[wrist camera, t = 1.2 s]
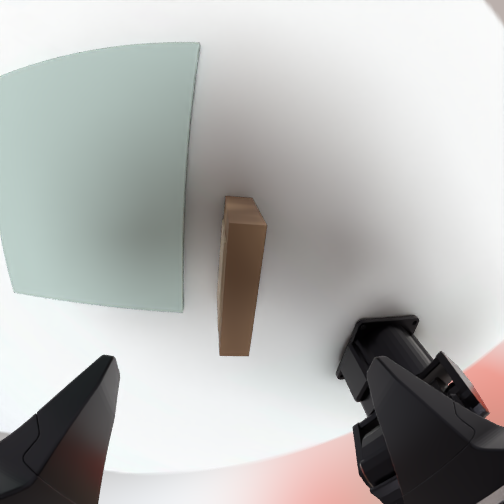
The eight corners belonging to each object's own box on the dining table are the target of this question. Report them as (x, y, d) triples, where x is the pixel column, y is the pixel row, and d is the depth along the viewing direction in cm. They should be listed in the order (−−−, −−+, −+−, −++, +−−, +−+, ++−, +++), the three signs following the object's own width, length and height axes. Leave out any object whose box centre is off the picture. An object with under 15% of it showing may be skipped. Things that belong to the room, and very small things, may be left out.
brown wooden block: (252, 197, 16) (267, 225, 11) (240, 303, 18) (248, 356, 14) (223, 195, 15) (226, 222, 11) (216, 302, 18) (217, 355, 14)
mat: (200, 45, 12) (199, 42, 11) (183, 307, 18) (182, 312, 17) (4, 76, 10) (-1, 76, 9) (17, 288, 16) (14, 292, 15)
